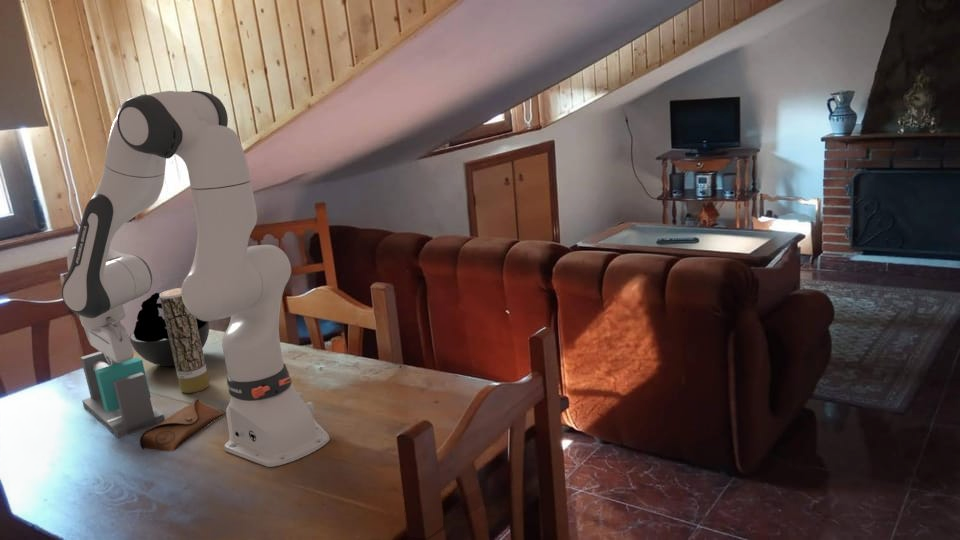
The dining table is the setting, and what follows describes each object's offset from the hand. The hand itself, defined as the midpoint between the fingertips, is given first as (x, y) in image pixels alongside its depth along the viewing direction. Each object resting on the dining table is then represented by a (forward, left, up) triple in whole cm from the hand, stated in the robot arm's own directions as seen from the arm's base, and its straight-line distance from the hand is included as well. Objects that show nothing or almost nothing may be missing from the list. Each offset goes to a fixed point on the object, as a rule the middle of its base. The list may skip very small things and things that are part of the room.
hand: (116, 371), depth 167 cm
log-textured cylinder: (+2, -17, -12) cm, 21 cm away
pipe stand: (+3, 0, -11) cm, 12 cm away
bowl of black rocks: (+24, -21, -12) cm, 34 cm away
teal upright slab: (-3, 0, -7) cm, 8 cm away
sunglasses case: (-19, -6, -12) cm, 23 cm away
